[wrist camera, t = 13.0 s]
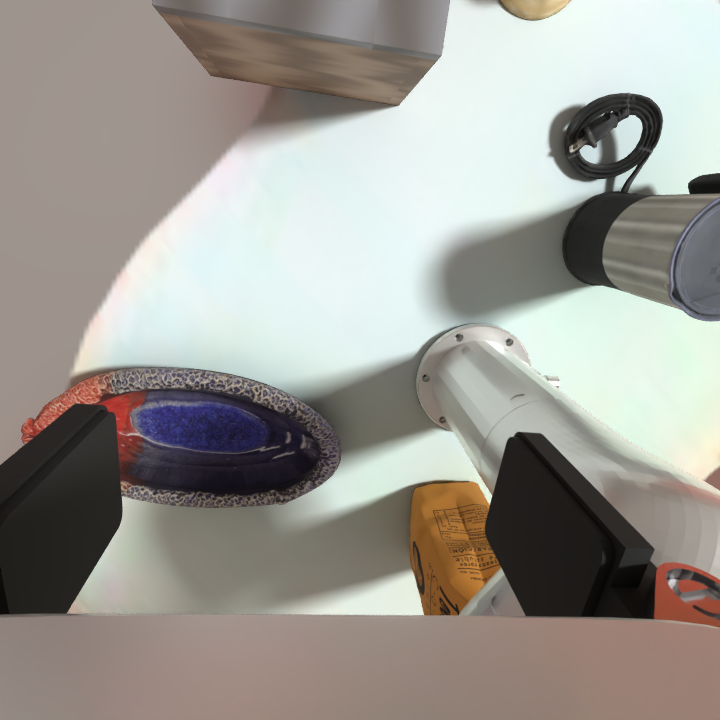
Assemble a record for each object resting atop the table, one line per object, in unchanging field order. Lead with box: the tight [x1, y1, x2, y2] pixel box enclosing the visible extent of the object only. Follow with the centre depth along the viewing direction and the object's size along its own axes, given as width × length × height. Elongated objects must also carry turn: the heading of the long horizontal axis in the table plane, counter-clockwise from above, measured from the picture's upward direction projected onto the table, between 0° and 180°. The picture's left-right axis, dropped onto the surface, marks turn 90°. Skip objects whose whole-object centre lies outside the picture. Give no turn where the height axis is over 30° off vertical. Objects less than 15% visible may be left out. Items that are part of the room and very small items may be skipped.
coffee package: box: [410, 482, 501, 616], centre depth 44 cm, size 10×12×22 cm
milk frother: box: [563, 93, 720, 321], centre depth 36 cm, size 14×16×15 cm
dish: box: [21, 368, 341, 508], centre depth 45 cm, size 16×31×5 cm, turn 78°
